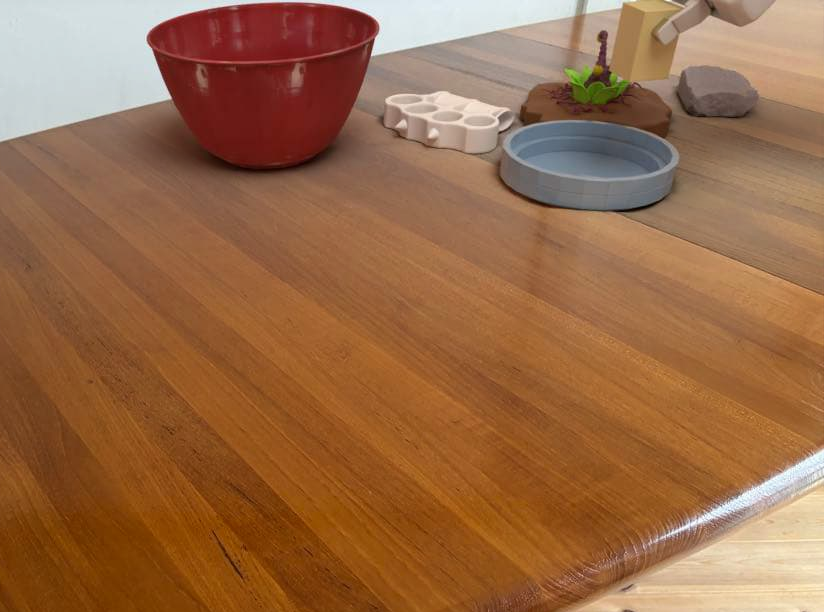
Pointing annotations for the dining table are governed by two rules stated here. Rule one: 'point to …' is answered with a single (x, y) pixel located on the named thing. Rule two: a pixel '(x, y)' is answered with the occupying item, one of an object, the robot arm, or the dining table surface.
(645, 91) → the plant
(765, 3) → the robot arm
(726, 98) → the stone block
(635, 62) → the yellow block
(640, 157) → the blue bowl
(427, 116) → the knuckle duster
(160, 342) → the dining table surface
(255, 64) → the mixing bowl
